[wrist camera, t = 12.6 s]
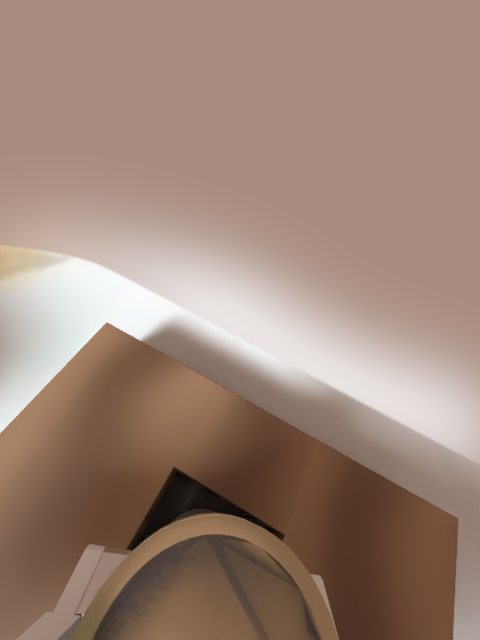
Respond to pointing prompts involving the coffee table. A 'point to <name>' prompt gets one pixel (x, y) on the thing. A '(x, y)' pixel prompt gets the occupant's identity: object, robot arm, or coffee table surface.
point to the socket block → (216, 477)
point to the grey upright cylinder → (208, 587)
